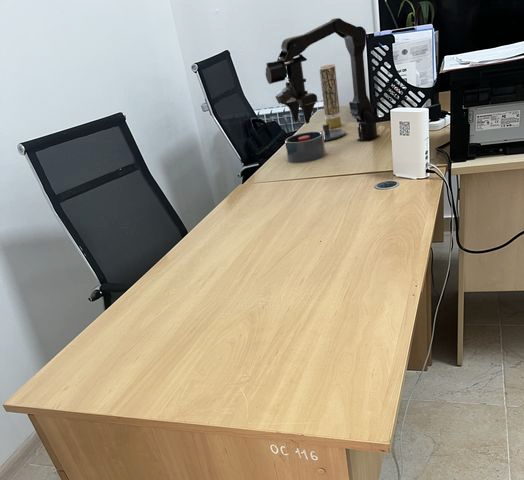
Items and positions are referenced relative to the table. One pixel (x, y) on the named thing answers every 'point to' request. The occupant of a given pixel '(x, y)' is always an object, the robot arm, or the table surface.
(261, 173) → the table surface
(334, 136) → the lid
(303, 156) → the pot
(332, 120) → the paper tube
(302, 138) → the cylinder
